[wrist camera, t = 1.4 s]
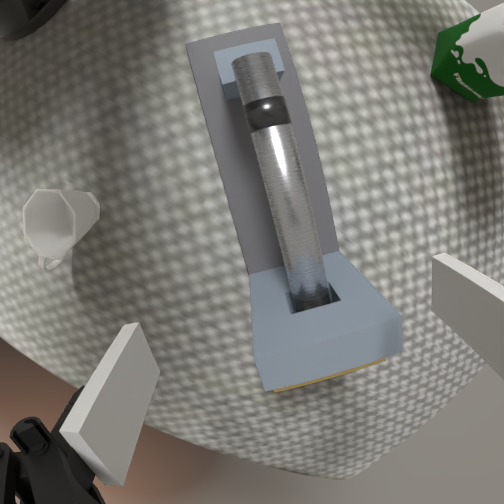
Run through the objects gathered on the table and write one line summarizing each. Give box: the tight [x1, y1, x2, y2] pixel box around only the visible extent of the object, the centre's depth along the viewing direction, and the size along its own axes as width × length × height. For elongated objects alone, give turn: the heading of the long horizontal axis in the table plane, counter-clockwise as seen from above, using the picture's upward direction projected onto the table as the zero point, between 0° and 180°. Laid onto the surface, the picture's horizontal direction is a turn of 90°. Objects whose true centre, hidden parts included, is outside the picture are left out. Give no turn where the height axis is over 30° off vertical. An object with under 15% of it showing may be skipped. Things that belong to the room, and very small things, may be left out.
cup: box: [23, 189, 100, 272], centre depth 29 cm, size 7×10×8 cm
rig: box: [185, 23, 402, 391], centre depth 24 cm, size 34×10×16 cm, turn 15°
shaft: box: [231, 52, 331, 313], centre depth 24 cm, size 26×3×3 cm, turn 15°
